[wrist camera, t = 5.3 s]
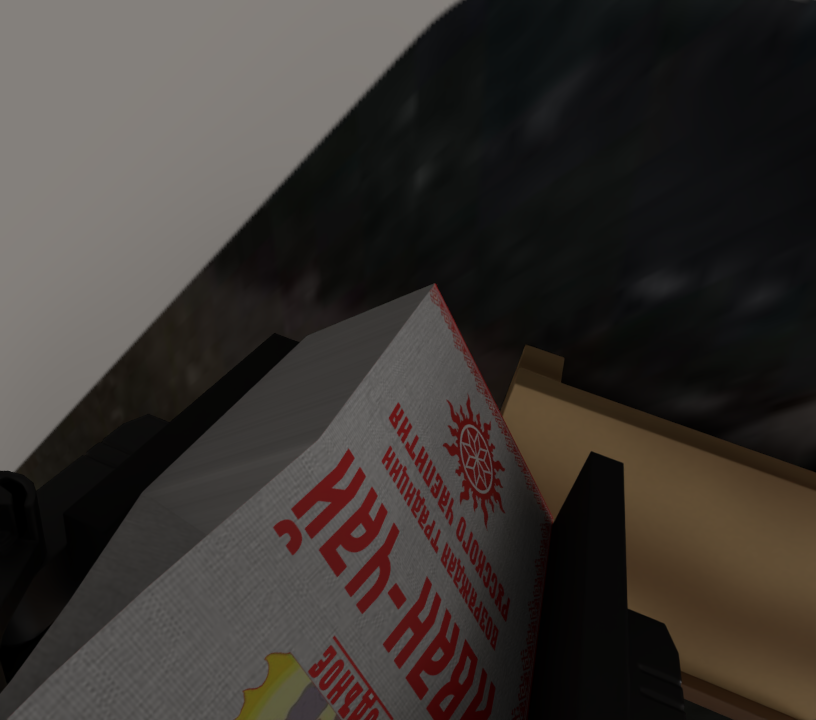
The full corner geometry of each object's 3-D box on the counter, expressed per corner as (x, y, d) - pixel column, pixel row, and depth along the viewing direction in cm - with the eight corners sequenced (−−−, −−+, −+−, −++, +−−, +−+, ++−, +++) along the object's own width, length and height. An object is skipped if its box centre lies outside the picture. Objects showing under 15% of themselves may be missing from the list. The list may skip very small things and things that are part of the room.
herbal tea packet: (428, 539, 16) (231, 1068, 8) (306, 335, 14) (-134, 753, 6) (553, 518, 15) (471, 1162, 6) (435, 283, 12) (74, 766, 4)
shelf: (525, 343, 29) (511, 392, 25) (956, 492, 26) (1020, 575, 22) (453, 532, 36) (433, 593, 32) (781, 664, 33) (805, 750, 29)
